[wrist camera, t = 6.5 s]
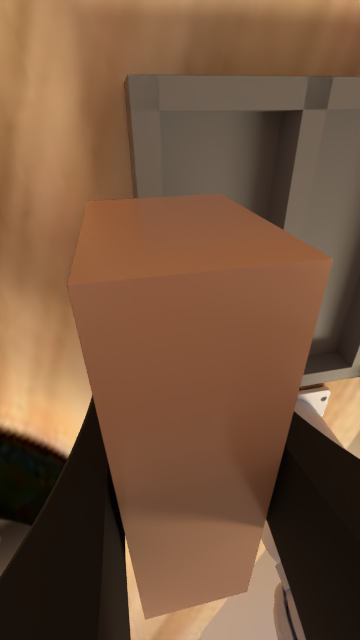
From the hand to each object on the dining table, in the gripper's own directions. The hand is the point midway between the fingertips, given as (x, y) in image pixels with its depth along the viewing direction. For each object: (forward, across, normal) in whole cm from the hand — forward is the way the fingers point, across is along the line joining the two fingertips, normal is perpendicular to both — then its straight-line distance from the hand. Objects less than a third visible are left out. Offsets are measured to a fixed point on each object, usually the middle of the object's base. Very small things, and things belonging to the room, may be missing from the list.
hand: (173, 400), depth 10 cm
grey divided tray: (+8, -7, -1) cm, 11 cm away
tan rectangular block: (+1, 0, 0) cm, 1 cm away
